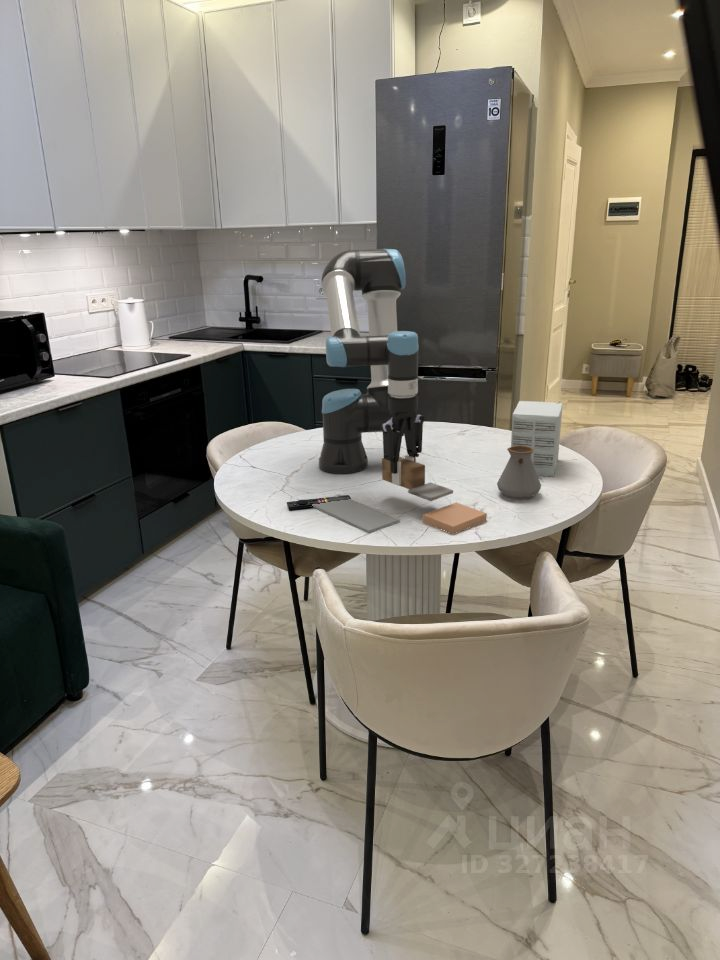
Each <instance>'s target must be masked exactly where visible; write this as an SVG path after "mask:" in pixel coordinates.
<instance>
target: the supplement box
mask: <svg viewBox="0 0 720 960" xmlns="http://www.w3.org/2000/svg"><path fill="white" fill-rule="evenodd" d="M562 415H563V402H551V401H550V402H548V401H534V400H533V401H531V400H518V403H517V405H516V407H515V408H514V411H513V412H512V415H511V417H512V420H511V440H510V447H513V446H527V447H530V448H532V449H533V450H534V451H533V452H532V454H531V460H532V463H533V465H534V468H535V471H536V473H537V476H540V477H541V476H542V477H543V476H544V477H555V471H556V468H557V464H558V460H559V453H560V451H559V450H560V438H561V427H562V426H561V425H562ZM510 457H511V455H510ZM510 457H509V458H510Z"/></svg>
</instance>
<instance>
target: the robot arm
mask: <svg viewBox="0 0 720 960" xmlns="http://www.w3.org/2000/svg"><path fill="white" fill-rule="evenodd" d="M406 281H407V280H406V269H405V263H404V259H403V256H402V254H401V252H400V251H399V250H397V249H394V248H393V249H392V248H376V249H375V248H371V249H347V250H343V251H341V252H339V253H337V254H336V255H334V256H333V257H332V258H331V259H330V260H329V262H328V263H326V265H325V267H324V269H323V270H322V275H321V288H322V292H323V294H325V296H326V302H327V310H328V317H329V325H330V334H331V335H330V336H331V337H328V338H326V339H325V356H326V357H325V358H326V364H327V365H328V366H329V367H331V368H332V367H333V368H334V367H339V368H347V367H363V366H370V375H371V377H370V379H371V382H370V383H369V385H368V386H367V387H366V393H362V392H361V390H360V389H358V388H343V389H339V390H334V391H331V392H329V393H327V394H326V395H324V396H323V398H322V403H321V404H322V406H321V414H322V429H323V430H322V431H323V436H322V437H323V445H322V448H321V451H320V456H319V458H318V468H319V469H320V470H321V471H323V472H325V473H331V474H352V473H353V474H354V473H358V472H361V471H363V470H365V469H367V468H368V466H369V461H368V460H369V459H368V456H367V453H366V450H365V447H364V445H363V442H362V440H363V439H362V437H363V436H362V433H382V445H383V446H382V447H383V449H382V450H383V451H382V452H383V458H384V459H385V460H388V461H390V471H391V473H392V483H391V484H393V485H396V486H398V487H401V486H400V485H401V461H399V457H400V454H401V446H402V439H403V437H404V441H405V447H406V453H407V455H404V459H407V460H410V461H414V462H417V461H416V458H419V457H420V453H422V451H423V428H424V423H425V416H424V415H421V414H418V413H417V410H418V408H419V395H417V394H418V393H419V349H420V345H419V336H418V333H416V332H415V331H407V330H398V316H397V299H398V298H399V297H400V296H401V291H402V290H404V289H405V287H406V284H407V283H406ZM354 291H361V298H363V299H364V300H365V302H366V303H367V316H368V317H367V323H368V335H363V336H361V333H360V328H359V327H360V326H359V320H358V316H357V314H358V313H357V310H356V304H355V297H354ZM397 431H398V432H397Z"/></svg>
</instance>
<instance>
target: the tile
mask: <svg viewBox="0 0 720 960" xmlns="http://www.w3.org/2000/svg"><path fill="white" fill-rule="evenodd" d="M487 516H488V515H487V512H484V511H481V510H478V509H476V508H473V507H471V506H467V505H465V504H462V503H459V502H457V501H456V502H453V503H451V504H448V505H445V506H443V507H442V506H441V507H440V508H437V509H434V510H432V511H429V512H426V513H423V514H422V523H424V524H426V525H428V524H429V525H428V526H430V527H433V526H434V527H433V528H435V527H437V528H436V529H438V528H439V529H438V530H440V529H442V530H441V531H443V530H445V531H447V532H446V533H448V532H450V533H451V535H456V534H457V533H456V532H458V533H460V532H463V531H465V530H468V529H470V528H472V526H473V527H474V525H475V526H477V524H478V525H479V523H480V524H482V523H484V521H485V522H487ZM469 527H470V528H469ZM467 528H468V529H467ZM464 529H465V530H464ZM462 530H463V531H462ZM445 531H444V532H445ZM459 531H460V532H459ZM450 533H449V534H450ZM455 533H456V534H455Z"/></svg>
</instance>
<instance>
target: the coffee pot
mask: <svg viewBox="0 0 720 960" xmlns="http://www.w3.org/2000/svg"><path fill="white" fill-rule="evenodd" d="M507 451H508V453H509V455H510V456H511V457H509V459H508V461H507V462H506V465H505V467H504V469H503V471H502V473H501V475H500V476H499V479H498V480H497V483H496V485H497V488H498V490H499V491H500V493H501V494H503V495H504V496H505V498H508V499H510V498H511V500H515V499H517V501H519V500H521V501H523V500H524V501H525V499H526V500H530V499H532V498H534V496H535V495H537V494H539V492H540V490H541V488H542V484H541V481H540V480H539V475H537V473H536V471H535V468H534V465H533V463H532V460H531V454H532V452H533V451H534V450H533V449H532V448H530V447H527V446H513V447H511V446H510V447H508V448H507Z"/></svg>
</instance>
